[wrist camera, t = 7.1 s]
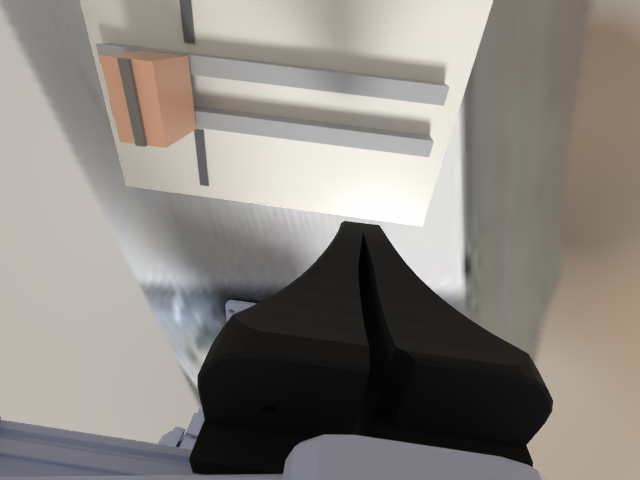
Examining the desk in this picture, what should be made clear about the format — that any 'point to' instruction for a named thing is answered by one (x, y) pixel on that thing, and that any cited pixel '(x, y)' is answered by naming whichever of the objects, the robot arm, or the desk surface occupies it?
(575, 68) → the desk surface
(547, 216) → the desk surface
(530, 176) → the desk surface
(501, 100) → the desk surface
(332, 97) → the white slider track board
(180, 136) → the fader
